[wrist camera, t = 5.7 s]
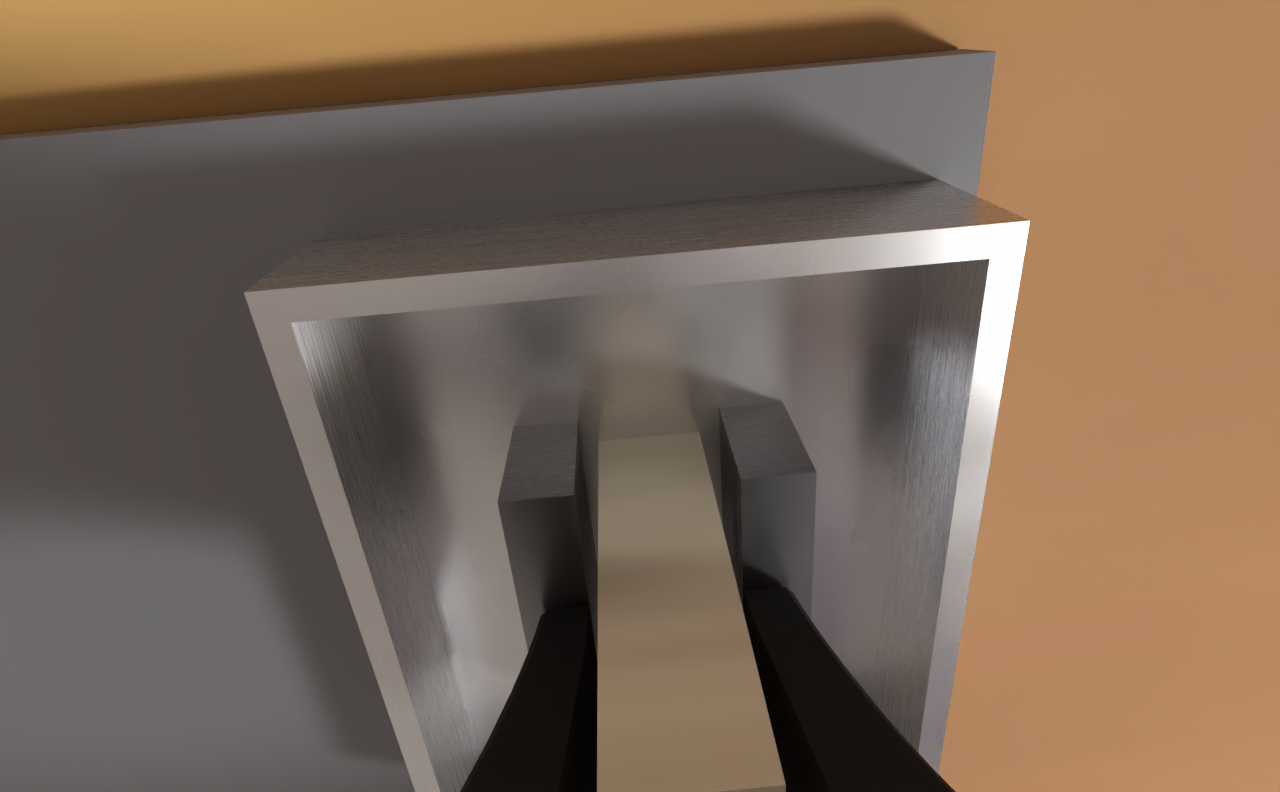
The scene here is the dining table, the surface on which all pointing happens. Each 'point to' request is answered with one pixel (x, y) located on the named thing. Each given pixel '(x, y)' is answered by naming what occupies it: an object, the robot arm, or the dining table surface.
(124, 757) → the charcoal board
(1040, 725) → the dining table surface
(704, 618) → the wood wick
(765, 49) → the dining table surface
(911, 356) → the grey slotted tray
